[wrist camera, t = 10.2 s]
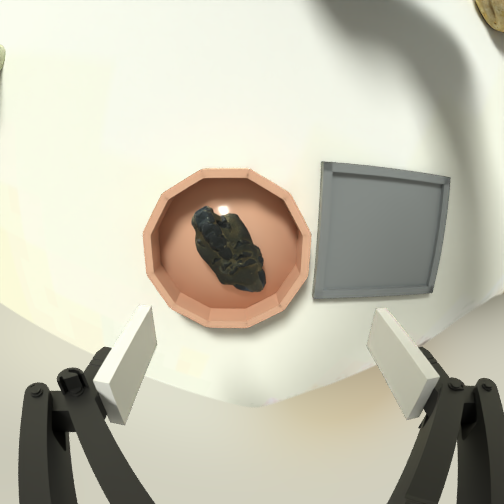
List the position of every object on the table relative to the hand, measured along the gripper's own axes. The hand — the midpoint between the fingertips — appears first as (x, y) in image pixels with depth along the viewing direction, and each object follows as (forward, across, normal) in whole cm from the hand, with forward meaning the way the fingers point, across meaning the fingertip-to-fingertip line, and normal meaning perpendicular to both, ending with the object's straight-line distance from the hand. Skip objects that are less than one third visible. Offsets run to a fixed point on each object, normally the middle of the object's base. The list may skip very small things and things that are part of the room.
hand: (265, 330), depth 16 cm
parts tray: (+23, +18, 0) cm, 30 cm away
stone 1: (+23, -3, -2) cm, 23 cm away
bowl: (+23, -4, -2) cm, 23 cm away
